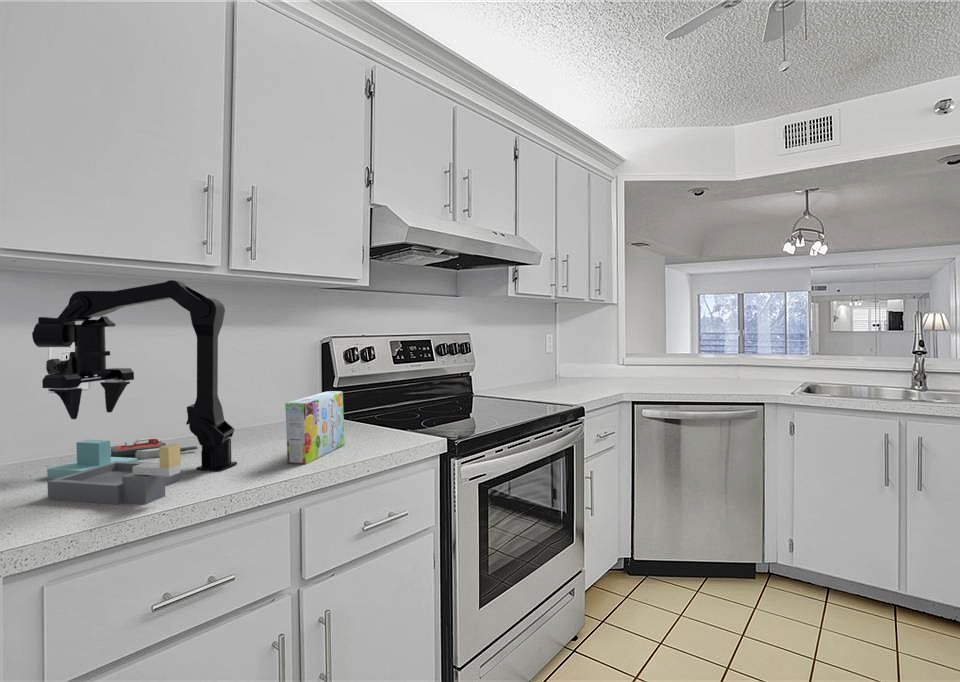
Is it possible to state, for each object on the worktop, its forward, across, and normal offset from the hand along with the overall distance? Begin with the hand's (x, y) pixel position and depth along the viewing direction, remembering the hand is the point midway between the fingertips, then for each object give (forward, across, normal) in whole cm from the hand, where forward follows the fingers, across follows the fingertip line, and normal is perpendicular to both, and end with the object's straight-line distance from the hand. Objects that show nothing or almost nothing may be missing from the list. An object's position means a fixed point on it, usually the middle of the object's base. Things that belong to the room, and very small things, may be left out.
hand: (92, 415), depth 127 cm
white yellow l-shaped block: (+8, +14, +29) cm, 34 cm away
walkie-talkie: (+14, -17, 0) cm, 22 cm away
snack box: (+13, -26, +42) cm, 51 cm away
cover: (+14, 0, 0) cm, 14 cm away
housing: (+13, +10, +18) cm, 25 cm away
